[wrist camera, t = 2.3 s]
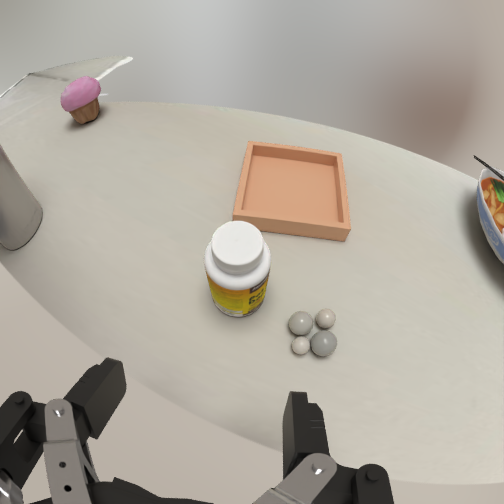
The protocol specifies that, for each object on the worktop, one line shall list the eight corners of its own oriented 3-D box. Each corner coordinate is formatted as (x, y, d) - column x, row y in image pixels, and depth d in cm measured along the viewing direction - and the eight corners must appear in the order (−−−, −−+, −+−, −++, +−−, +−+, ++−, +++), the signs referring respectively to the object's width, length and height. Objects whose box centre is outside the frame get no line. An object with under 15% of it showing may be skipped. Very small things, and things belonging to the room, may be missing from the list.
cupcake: (108, 103, 51) (97, 66, 42) (107, 120, 47) (94, 79, 38) (72, 117, 49) (59, 82, 40) (69, 136, 45) (52, 98, 36)
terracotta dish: (233, 227, 34) (232, 214, 32) (247, 154, 41) (248, 141, 39) (344, 241, 34) (350, 229, 32) (337, 166, 41) (341, 153, 38)
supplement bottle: (251, 327, 28) (256, 287, 19) (203, 304, 29) (185, 257, 20) (272, 281, 31) (285, 226, 22) (226, 262, 32) (221, 202, 23)
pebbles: (284, 355, 27) (288, 350, 25) (288, 308, 29) (292, 300, 27) (332, 358, 27) (340, 354, 24) (333, 313, 29) (341, 304, 27)
